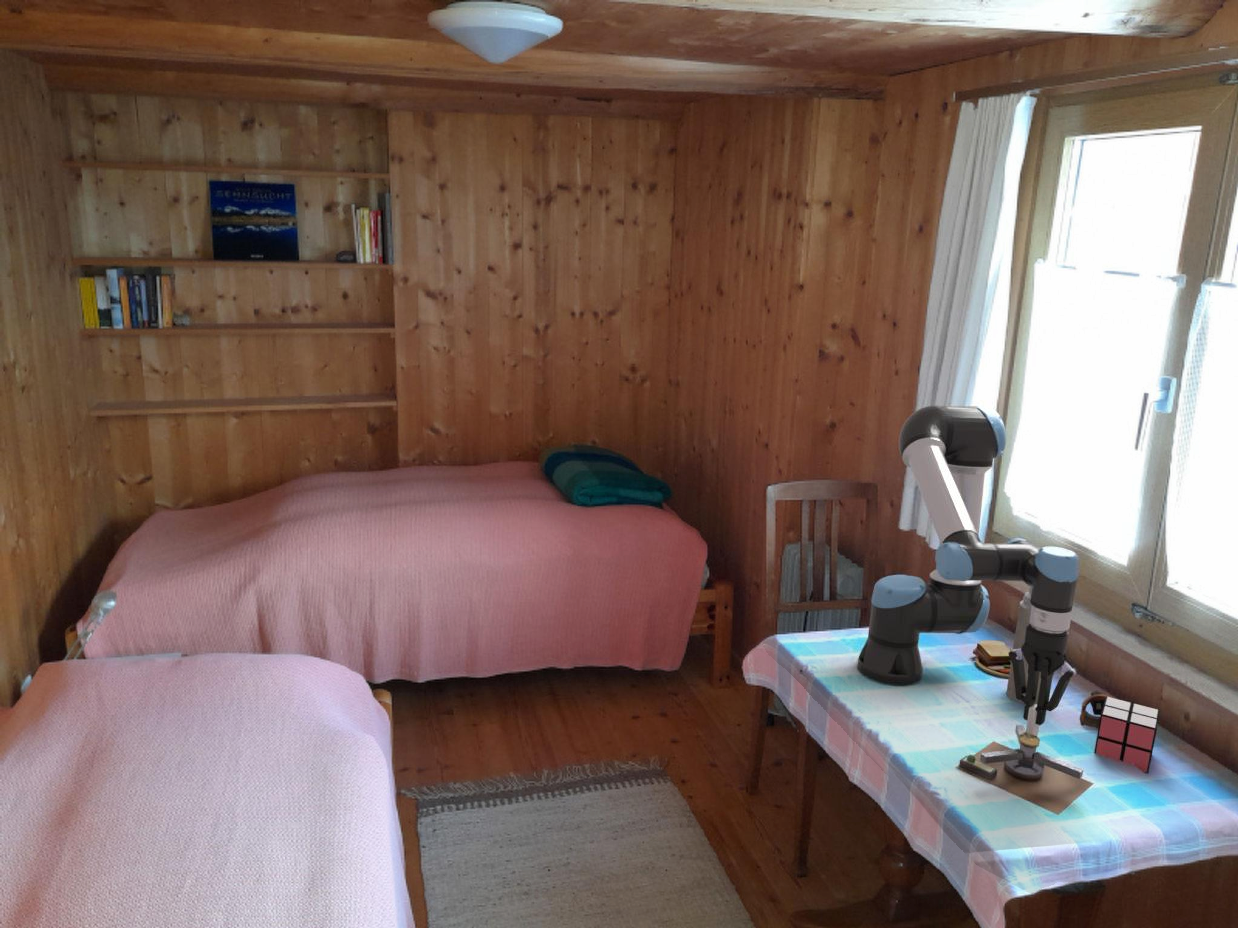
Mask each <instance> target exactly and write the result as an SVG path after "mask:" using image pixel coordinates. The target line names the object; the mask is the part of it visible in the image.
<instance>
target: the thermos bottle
mask: <svg viewBox="0 0 1238 928" xmlns="http://www.w3.org/2000/svg"><path fill="white" fill-rule="evenodd" d="M1031 592H1032V587H1030V586H1029V591H1027V592H1024V596H1023V597H1022V598H1023V600H1021V601H1020V602H1019V604H1018V605H1019V607H1018V612H1017V613H1018V614H1017V621H1016V627H1015V632H1014V640H1013V647H1012V648H1013V650H1014V649H1015V648H1017V649H1020V648H1021V647H1022V645H1023V644H1024V642H1025V633H1026V626H1027V624H1028V623H1029V622H1028V614H1029V607H1030V600H1031ZM1023 661H1024V669H1025V678H1026V687H1027V680H1028V666H1029V665H1028V663H1027V661H1026V659H1025V657H1024V658H1023ZM1040 676H1041V672H1040V674H1039V681H1038V688H1037V694H1036V700H1037V701H1036V702H1034V704H1037V702H1038V696H1039V689H1040V683H1041V677H1040ZM1006 695H1007V696H1008V698H1010V699H1011V700H1013V701H1015V702H1019V703H1021V704H1024V702H1023V701H1021V700H1018V699H1017V698H1016V693H1015V683H1014V674H1013V665H1012V661H1011V665H1010V672H1009V678H1008V679H1007V686H1006Z"/></svg>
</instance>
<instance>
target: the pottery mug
mask: <svg viewBox="0 0 1238 928" xmlns="http://www.w3.org/2000/svg"><path fill="white" fill-rule="evenodd" d="M1106 697H1110V698H1113V696H1110V695H1107V694H1103V693H1102V692H1101V691H1100V690H1093V691H1092V692H1091V693H1090V696H1088V697H1087V698H1085V699H1084V700H1083V702H1082V704H1081V711H1080V715H1079V723H1080V725H1081V726H1082V727H1084V726H1087V727H1091V728H1094V729H1098V727H1099V722H1100V716H1101V712H1102V709H1103V705H1104V702H1105V698H1106ZM1089 704H1090V706H1091V708H1092V713H1093V714H1090V713H1089V712H1088V711H1087V710H1086V709H1087V707H1088V705H1089Z"/></svg>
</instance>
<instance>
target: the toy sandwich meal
mask: <svg viewBox="0 0 1238 928" xmlns="http://www.w3.org/2000/svg"><path fill="white" fill-rule="evenodd" d="M976 643H977V645H976V647H975V648H974V649H972V650H973V651H972V654H973V655H975V656H976V657H975V659H974V662H975V663H976V665H977V666H978V667H979V668H980V670H982V671H983V672H985V673H988V674H991V675H993V676H996V677H999V678H1000V677H1001V678H1005V679H1006V678H1008V679H1009V672H1010V665H1011V659H1010V657H1009V652H1010V651H1012V650H1013V647H1010V649H1009V648H1008V646H1007V645H1006V644H1005V642H1003V641H1000V640H991V639H990V640H988V639H987V640H980V641H977V642H976Z"/></svg>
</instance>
